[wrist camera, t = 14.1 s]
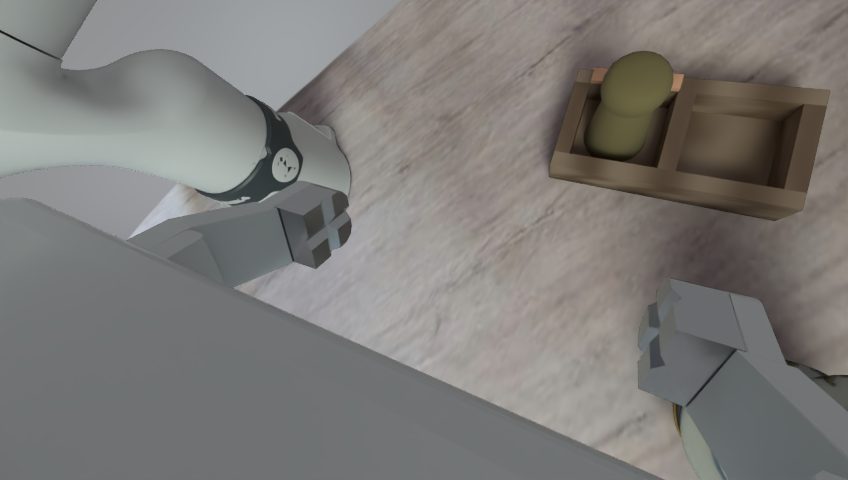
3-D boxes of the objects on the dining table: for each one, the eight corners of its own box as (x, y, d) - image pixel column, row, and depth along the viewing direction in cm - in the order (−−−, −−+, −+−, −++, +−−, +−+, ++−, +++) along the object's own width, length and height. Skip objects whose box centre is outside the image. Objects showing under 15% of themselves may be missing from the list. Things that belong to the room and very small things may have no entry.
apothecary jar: (745, 323, 32) (971, 336, 15) (871, 454, 28) (1373, 671, 11) (628, 393, 34) (715, 474, 17) (730, 526, 29) (980, 807, 13)
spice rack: (549, 177, 40) (550, 162, 36) (576, 86, 41) (580, 62, 37) (774, 221, 33) (807, 208, 29) (800, 109, 34) (836, 82, 30)
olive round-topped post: (599, 104, 39) (619, 30, 29) (657, 121, 37) (701, 47, 26) (573, 151, 39) (584, 94, 29) (630, 171, 37) (664, 117, 26)
